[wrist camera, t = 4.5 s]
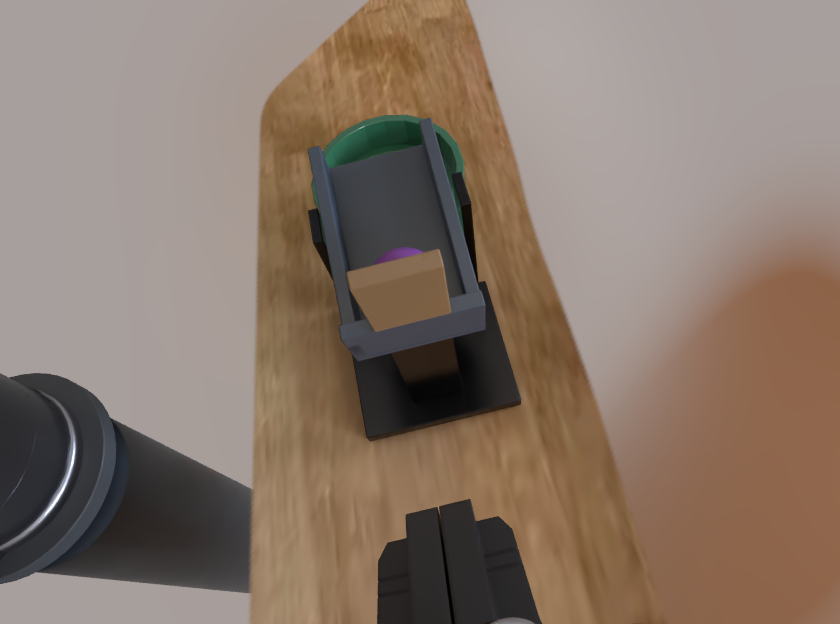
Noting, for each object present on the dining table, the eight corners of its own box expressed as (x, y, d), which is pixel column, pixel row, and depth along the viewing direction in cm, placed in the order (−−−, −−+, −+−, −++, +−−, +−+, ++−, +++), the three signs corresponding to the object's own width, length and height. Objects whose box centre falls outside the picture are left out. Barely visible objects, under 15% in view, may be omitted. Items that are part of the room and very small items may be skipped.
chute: (485, 330, 28) (485, 256, 20) (357, 361, 29) (307, 300, 21) (435, 146, 32) (418, 20, 24) (320, 175, 32) (264, 60, 24)
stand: (521, 404, 36) (524, 329, 27) (369, 441, 36) (320, 380, 27) (481, 273, 40) (473, 167, 31) (345, 307, 40) (295, 213, 31)
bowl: (437, 297, 40) (427, 257, 35) (309, 257, 42) (285, 214, 38) (488, 183, 43) (486, 132, 39) (367, 152, 46) (351, 101, 41)
